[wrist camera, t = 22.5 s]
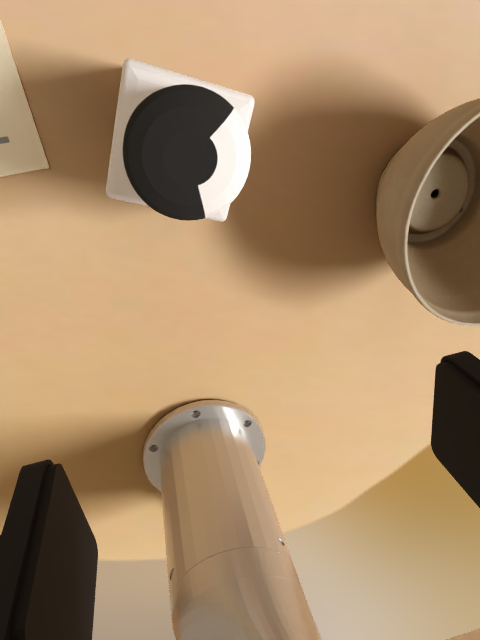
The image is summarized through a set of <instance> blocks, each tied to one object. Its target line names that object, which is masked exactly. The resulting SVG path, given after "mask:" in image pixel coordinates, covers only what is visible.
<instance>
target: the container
mask: <svg viewBox="0 0 480 640" xmlns="http://www.w3.org/2000/svg"><path fill="white" fill-rule="evenodd" d="M253 108H254V98H253V97H252V96H251V95H249V94H245V93H242V92H239V91H236V90H232V89H229V88H226V87H222V86H219V85H216V84H213V83H209V82H206V81H203V80H200V79H196V78H193V77H190V76H186V75H183V74H180V73H177V72H173V71H170V70H167V69H164V68H160V67H157V66H154V65H151V64H147V63H144V62H141V61H137V60H134V59H126V60H125V61H124V63H123V68H122V75H121V82H120V89H119V97H118V104H117V111H116V118H115V126H114V133H113V140H112V147H111V155H110V162H109V169H108V177H107V184H106V195H107V196H108V197H109V198H111V199H115V200H120V201H125V202H130V203H134V204H139V205H144V206H148V207H151V208H152V209H154V210H155V211H157V212H159V213H161V214H163V215H165V216H168V217H170V218H174V219H179V220H198V219H203V218H205V219H210V220H214V221H219V222H222V221H225V220H226V218H227V215H228V211H229V207H230V203H231V202H232V201H233V200H234V199H235V198H236V197H237V195H238V194H239V193H240V191H241V189H242V188H243V186H244V184H245V181H246V179H247V176H248V173H249V169H250V162H251V147H250V140H249V136H248V129H249V124H250V120H251V116H252V112H253Z"/></svg>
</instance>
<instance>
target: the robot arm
mask: <svg viewBox="0 0 480 640" xmlns="http://www.w3.org/2000/svg"><path fill="white" fill-rule="evenodd" d="M431 446H432V450H433V452H434V454H435V456H436V457H437V459H438V460H439V461H440V462H441V463H442V465H444V467H445V468H446V469H447V470H448V472H449V473H450V474H451V475H452V476H453V477H454V479H455V480H456V481H457V482H458V483H459V484H460V486H461V487H462V488H463V489H464V490H465V491H466V493H468V495H469V496H470V497H471V498H472V500H473V501H474V502H475V503H476V504H477V505H478V507H479V508H480V360H479V359H478V358H477V357H475V356H474V355H472V354H471V353H469V352H467V351H463V352H459V353H455V354H452V355H448V356H445V357H443V358H442V359H441V363H440V364H438V365H437V366H436V374H435V389H434V404H433V420H432V435H431ZM265 449H266V447H265V437H264V434H263V431H262V428H261V426H260V424H259V422H258V421H257V419H256V418H255V417H254V415H253V414H251V413H250V412H249V411H248V410H247V409H245V408H243V407H241V406H239V405H237V404H234V403H231V402H228V401H221V400H202V401H197V402H193V403H189V404H186V405H184V406H181V407H179V408H177V409H175V410H173V411H172V412H170V413H168V414H167V415H166V416H164V417H163V418H162V419H161V420H160V421H158V423H157V424H156V425H155V426H154V427H153V428H152V430H151V431H150V433H149V435H148V437H147V439H146V442H145V445H144V449H143V464H144V470H145V473H146V476H147V478H148V479H149V481H150V482H151V484H152V485H153V486H154V487H155V488H157V489H158V490H159V491H160V492H162V504H163V517H164V530H165V542H166V555H167V566H168V579H169V592H170V603H171V604H170V605H171V617H172V625H173V630H174V634H175V638H176V640H322V638H321V636H320V634H319V632H318V629H317V627H316V624H315V622H314V619H313V616H312V614H311V611H310V608H309V606H308V603H307V600H306V598H305V595H304V592H303V590H302V587H301V584H300V581H299V578H298V575H297V573H296V570H295V567H294V565H293V562H292V559H291V556H290V553H289V551H288V548H287V545H286V542H285V539H284V536H283V533H282V531H281V528H280V525H279V522H278V519H277V516H276V514H275V511H274V508H273V505H272V502H271V499H270V496H269V494H268V491H267V488H266V485H265V482H264V479H263V476H262V474H261V471H260V468H259V467H260V465H261V463H262V460H263V458H264V454H265ZM97 560H98V549H97V543H96V540H95V537H94V535H93V533H92V531H91V528H90V526H89V524H88V522H87V519H86V517H85V515H84V513H83V511H82V508H81V506H80V504H79V502H78V500H77V497H76V495H75V493H74V491H73V489H72V486H71V484H70V482H69V480H68V477H67V475H66V473H65V471H64V469H63V467H62V465H61V464H55V465H54V464H53V462H52V461H51V460H45V461H41V462H37V463H33V464H29V465H26V466H23V467H22V468H21V471H20V473H19V477H18V480H17V484H16V487H15V490H14V494H13V497H12V500H11V504H10V507H9V511H8V514H7V517H6V521H5V524H4V527H3V531H2V534H1V535H0V640H92V630H93V629H92V628H93V616H94V602H95V587H96V573H97ZM447 640H480V629H477V630H474V631H471V632H468V633H465V634H462V635H459V636H456V637H453V638H450V639H447Z"/></svg>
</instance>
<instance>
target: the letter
mask: <svg viewBox="0 0 480 640" xmlns="http://www.w3.org/2000/svg"><path fill="white" fill-rule="evenodd" d="M46 168H50V167H49V164H48V161H47V158H46V155H45V152H44V149H43V146H42V143H41V140H40V137H39V134H38V131H37V128H36V125H35V122H34V119H33V116H32V113H31V110H30V107H29V104H28V101H27V98H26V95H25V92H24V89H23V86H22V83H21V80H20V77H19V74H18V71H17V68H16V65H15V62H14V59H13V56H12V53H11V50H10V47H9V44H8V41H7V38H6V35H5V32H4V29H3V26H2V23H1V20H0V177H3V176H8V175H13V174H19V173H24V172H30V171H35V170H41V169H46Z"/></svg>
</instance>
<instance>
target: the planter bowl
mask: <svg viewBox="0 0 480 640" xmlns="http://www.w3.org/2000/svg"><path fill="white" fill-rule="evenodd" d="M435 189H437V190H438V191H439V193H438V196H437V197H435V198H432V197H431V193H432V191H433V190H435ZM376 207H377V211H376V220H377V231H378V236H379V241H380V244H381V247H382V250H383V253H384V255H385V258H386V260H387V262H388V264H389V265H390V267H391V269H392V270H393V272H394V273H395V275H396V276H397V277H398V279H399V280H400V281H401V282H402V284H403V285H404V286H405V287H406V288H407V289H408V290H409V291H410V292H411V293H412V294H413V295H414V296H415V298H416V299H417V300H418V301H419V302H420V304H421V305H422V306H424V307H425V308H426V309H427V310H428V311H430V312H431V313H432V314H434V315H435V316H437V317H439V318H440V319H442V320H445V321H448V322H450V323H454V324H458V325H463V326H480V99H476V100H473V101H470V102H467V103H465V104H462V105H460V106H458V107H456V108H453V109H451V110H449V111H447V112H445V113H444V114H442V115H440V116H439V117H437V118H435V119H434V120H432V121H431V122H429V123H428V124H427V125H425V126H424V127H423V128H422V129H420V130H419V131H418V132H417V133H416V134H415V135H413V136H412V137H411V138H410V139H409V140H408V141H407V143H406V144H405V145H404V146H403V147H402V148H401V149H400V150H399V151H398V152H397V153H396V154H395V155H394V156H393V157H392V159H391V160H390V161H389V163H388V164H387V166H386V168H385V170H384V172H383V174H382V176H381V178H380V182H379V185H378V189H377V196H376Z"/></svg>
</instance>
